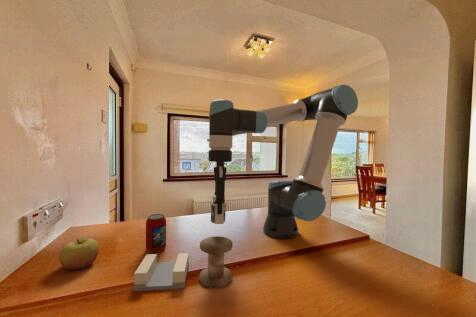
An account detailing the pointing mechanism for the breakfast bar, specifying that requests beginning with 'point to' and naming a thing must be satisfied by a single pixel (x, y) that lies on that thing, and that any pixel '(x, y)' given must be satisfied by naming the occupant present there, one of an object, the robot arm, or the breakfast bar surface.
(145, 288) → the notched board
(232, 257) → the breakfast bar surface
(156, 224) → the beverage can
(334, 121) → the robot arm
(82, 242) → the apple
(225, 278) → the bobbin
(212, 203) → the pill bottle
